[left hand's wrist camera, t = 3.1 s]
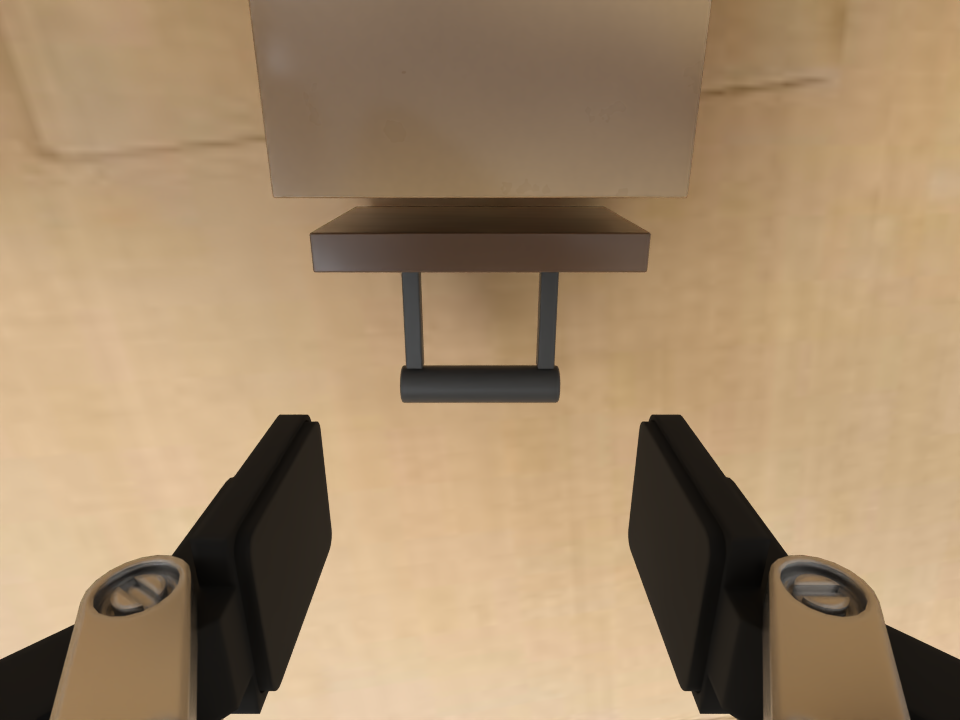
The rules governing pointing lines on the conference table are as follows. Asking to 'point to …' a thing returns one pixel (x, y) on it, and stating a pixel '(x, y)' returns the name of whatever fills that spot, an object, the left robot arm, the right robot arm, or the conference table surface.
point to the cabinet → (480, 97)
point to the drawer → (480, 248)
